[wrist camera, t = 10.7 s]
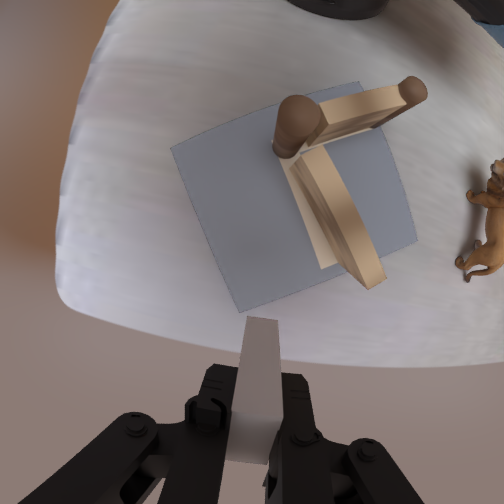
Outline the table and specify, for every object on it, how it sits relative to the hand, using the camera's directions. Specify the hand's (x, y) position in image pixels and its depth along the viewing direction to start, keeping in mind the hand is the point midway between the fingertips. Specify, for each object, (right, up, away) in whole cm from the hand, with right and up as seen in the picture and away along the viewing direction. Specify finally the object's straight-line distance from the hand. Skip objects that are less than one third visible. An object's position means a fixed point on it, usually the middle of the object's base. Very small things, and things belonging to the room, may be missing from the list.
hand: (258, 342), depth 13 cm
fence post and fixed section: (+7, +16, +11) cm, 21 cm away
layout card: (+4, +10, +12) cm, 16 cm away
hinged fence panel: (+6, +8, +11) cm, 15 cm away
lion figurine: (+26, +9, +12) cm, 30 cm away
